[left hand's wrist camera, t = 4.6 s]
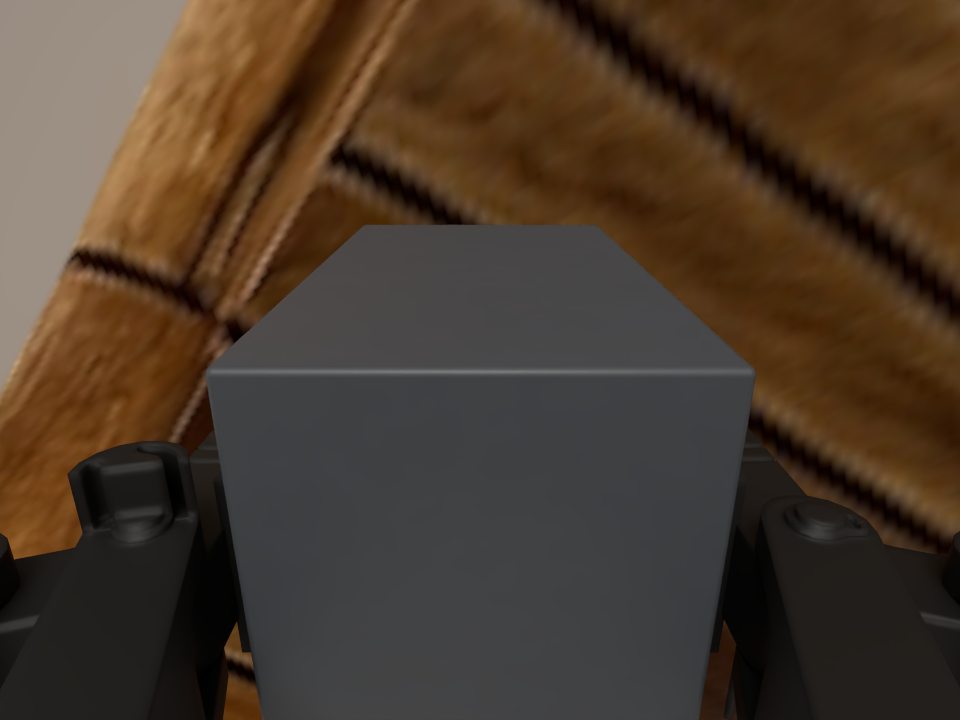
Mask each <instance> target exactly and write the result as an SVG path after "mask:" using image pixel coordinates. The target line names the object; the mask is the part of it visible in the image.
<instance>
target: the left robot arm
mask: <svg viewBox="0 0 960 720" xmlns="http://www.w3.org/2000/svg"><path fill="white" fill-rule="evenodd" d="M67 475H68V478H69V482H70V486H71V490H72V494H73V497H74V501H75V505H76V509H77V513H78V516H79V520H80V524H81V528H82V532H83V534H82V536H81V538H80V540H79V541H78V543H77V545H76V547H75V548H71V549H67V550H62V551H57V552H52V553H46V554H41V555H36V556H31V557H25V558H20V559H15V560H14V558H13V555H12V551H11V548H10V545H9V542H8V539H7V537H5V536H4V535H2V534H1V533H0V720H223V714H224V706H225V698H226V691H227V683H228V676H229V675H228V668H227V662H226V656H225V651H224V647H225V644H226V642H227V640H228V638H229V636H230V634H231V632H232V630H233V628H234V626H235V624H236V622H237V624H238V630H239V635H240V641H241V647H242V652H251V648H250V642H249V636H248V630H247V624H246V618H245V611H244V605H243V599H242V593H241V587H240V581H239V575H238V569H237V563H236V557H235V551H234V545H233V539H232V533H231V526H230V520H229V514H228V508H227V502H226V496H225V490H224V484H223V478H222V472H221V466H220V460H219V454H218V448H217V441H216V435H215V430H213V431H211V433H210V434H209V435H208V436H207V437H206V438H205V440H204V441H203V442H202V443H201V444H200V445H199V447H198V450H195V451H194V452H193V454H192V455H191V456H190V457H189V455H188V450H186V449H185V448H183V447H182V446H181V445H179V444H176V443H171V442H166V441H141V442H136V443H130V444H125V445H120V446H116V447H113V448H111V449H108V450H105V451H102V452H99V453H96V454H94V455H93V456H91V457H89V458H87V459H85V460H83V461H82V462H80V463H78V464H77V465H76V466H75V467H74V468H73V469H72V470H71V471H70V472H69V473H68V474H67ZM724 620H725V622H726V624H727V626H728V628H729V630H730V632H731V634H732V636H733V638H734V640H735V642H736V644H737V645H736V651H735V656H734V662H733V667H732V672H731V678H730V683H729V689H728V694H727V700H726V705H725V712H724V718H726V719H731V720H733V714H734V709H735V706H736V712H737V720H960V531H959V532H958V533H956V534H955V535H954V537H953V541H952V544H951V547H950V550H949V553H948V556H947V557H946V556H940V555H935V554H930V553H924V552H919V551H914V550H908V549H903V548H898V547H893V546H889V545H885V544H883V542H882V540H881V538H880V537H879V535H878V533H877V531H876V530H875V529H874V528H873V527H872V526H871V525H870V523H869V522H868V521H867V520H866V519H864V518H863V517H861V516H860V515H858V514H857V513H855V512H853V511H852V510H850V509H849V508H846V507H844V506H841V505H839V504H836V503H834V502H831V501H829V500H824V499H820V498H815V497H810V496H807V495H806V494H805V493H804V492H803V491H802V489H801V488H800V487H799V486H798V485H797V484H796V482H795V481H794V480H793V479H792V478H791V477H790V476H789V474H788V473H787V472H786V471H785V470H784V469H783V467H782V466H781V465H780V464H779V463H778V462H777V461H774V457H773V456H772V455H771V454H770V453H769V451H768V450H767V449H766V448H763V444H762V443H761V442H760V441H759V440H758V439H757V438H756V436H755V435H754V434H753V433H752V432H751V431H750V429H748V428H747V431H746V437H745V444H744V450H743V456H742V462H741V468H740V474H739V480H738V486H737V492H736V498H735V504H734V510H733V516H732V522H731V528H730V534H729V540H728V546H727V552H726V558H725V564H724V570H723V576H722V582H721V588H720V594H719V600H718V606H717V612H716V618H715V624H714V630H713V636H712V642H711V648H710V652H718V650H719V644H720V638H721V632H722V626H723V621H724Z"/></svg>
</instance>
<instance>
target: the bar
mask: <svg viewBox="0 0 960 720" xmlns="http://www.w3.org/2000/svg"><path fill="white" fill-rule="evenodd" d="M755 377H756V374H755V371H754V368H753V367H752V366H751V365H750V364H748V363H747V362H746V361H745V360H744V359H743V358H742V357H741V356H740V355H739V354H737V353H736V352H735V351H734V350H733V349H732V348H731V347H730V346H729V345H728V344H726V343H725V342H724V341H723V340H722V339H721V338H720V337H719V336H718V335H717V334H715V333H714V332H713V331H712V330H711V329H710V328H709V327H708V326H707V325H706V324H704V323H703V322H702V321H701V320H700V319H699V318H698V317H697V316H696V315H695V314H693V313H692V312H691V311H690V310H689V309H688V308H687V307H686V306H685V305H684V304H682V303H681V302H680V301H679V300H678V299H677V298H676V297H675V296H674V295H673V294H671V293H670V292H669V291H668V290H667V289H666V288H665V287H664V286H663V285H661V284H660V283H659V282H658V281H657V280H656V279H655V278H654V277H653V276H652V275H650V274H649V273H648V272H647V271H646V270H645V269H644V268H643V267H642V266H641V265H639V264H638V263H637V262H636V261H635V260H634V259H633V258H632V257H631V256H630V255H628V254H627V253H626V252H625V251H624V250H623V249H622V248H621V247H620V246H619V245H617V244H616V243H615V242H614V241H613V240H612V239H611V238H610V237H609V236H608V235H606V234H605V233H604V232H603V231H602V230H601V229H600V228H599V227H598V226H596V225H365V226H363V227H362V228H361V229H360V230H359V231H357V232H356V233H355V234H354V235H353V236H352V237H351V238H350V239H349V240H348V241H346V242H345V243H344V244H343V245H342V246H341V247H340V248H339V249H338V250H337V251H336V252H334V253H333V254H332V255H331V256H330V257H329V258H328V259H327V260H326V261H325V262H323V263H322V264H321V265H320V266H319V267H318V268H317V269H316V270H315V271H314V272H313V273H311V274H310V275H309V276H308V277H307V278H306V279H305V280H304V281H303V282H302V283H300V284H299V285H298V286H297V287H296V288H295V289H294V290H293V291H292V292H291V293H290V294H288V295H287V296H286V297H285V298H284V299H283V300H282V301H281V302H280V303H279V304H277V305H276V306H275V307H274V308H273V309H272V310H271V311H270V312H269V313H268V314H266V315H265V316H264V317H263V318H262V319H261V320H260V321H259V322H258V323H257V324H256V325H254V326H253V327H252V328H251V329H250V330H249V331H248V332H247V333H246V334H245V335H243V336H242V337H241V338H240V339H239V340H238V341H237V342H236V343H235V344H234V345H233V346H231V347H230V348H229V349H228V350H227V351H226V352H225V353H224V354H223V355H222V356H220V357H219V358H218V359H217V360H216V361H215V362H214V363H213V364H212V365H211V366H210V367H208V368H207V372H206V381H207V387H208V393H209V399H210V405H211V411H212V417H213V423H214V429H215V435H216V441H217V448H218V454H219V460H220V466H221V472H222V478H223V484H224V490H225V496H226V502H227V508H228V514H229V520H230V526H231V533H232V539H233V545H234V551H235V557H236V563H237V569H238V575H239V581H240V587H241V593H242V599H243V605H244V611H245V618H246V624H247V630H248V636H249V642H250V648H251V654H252V660H253V666H254V672H255V678H256V684H257V690H258V696H259V703H260V709H261V715H262V720H699V715H700V709H701V703H702V697H703V691H704V685H705V679H706V673H707V667H708V661H709V655H710V648H711V642H712V636H713V630H714V624H715V618H716V612H717V606H718V600H719V594H720V588H721V582H722V576H723V570H724V564H725V558H726V552H727V546H728V540H729V534H730V528H731V522H732V516H733V510H734V504H735V498H736V492H737V486H738V480H739V474H740V468H741V462H742V456H743V450H744V444H745V437H746V431H747V425H748V419H749V413H750V407H751V401H752V395H753V389H754V383H755Z"/></svg>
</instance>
